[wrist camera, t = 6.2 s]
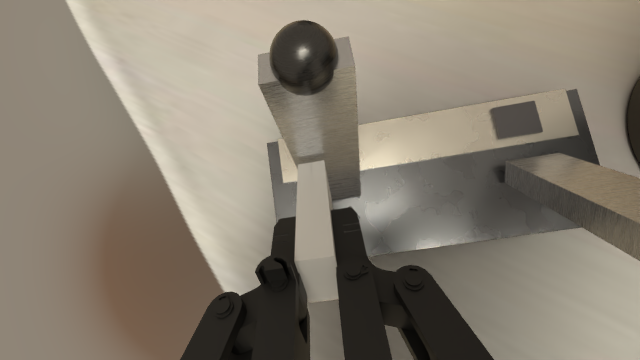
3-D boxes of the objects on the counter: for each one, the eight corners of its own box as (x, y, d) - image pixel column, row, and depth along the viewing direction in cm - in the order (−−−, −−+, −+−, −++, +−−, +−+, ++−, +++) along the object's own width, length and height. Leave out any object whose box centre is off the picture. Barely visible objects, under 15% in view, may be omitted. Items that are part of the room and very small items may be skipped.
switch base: (593, 222, 22) (625, 222, 19) (287, 264, 24) (280, 269, 21) (557, 99, 23) (582, 84, 21) (273, 148, 25) (264, 140, 23)
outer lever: (362, 201, 21) (356, 43, 9) (313, 209, 21) (244, 65, 9) (356, 170, 22) (344, -6, 10) (310, 178, 22) (245, 15, 10)
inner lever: (556, 180, 20) (923, 344, 8) (504, 188, 21) (777, 357, 8) (560, 145, 19) (978, 266, 7) (505, 154, 20) (813, 285, 7)
